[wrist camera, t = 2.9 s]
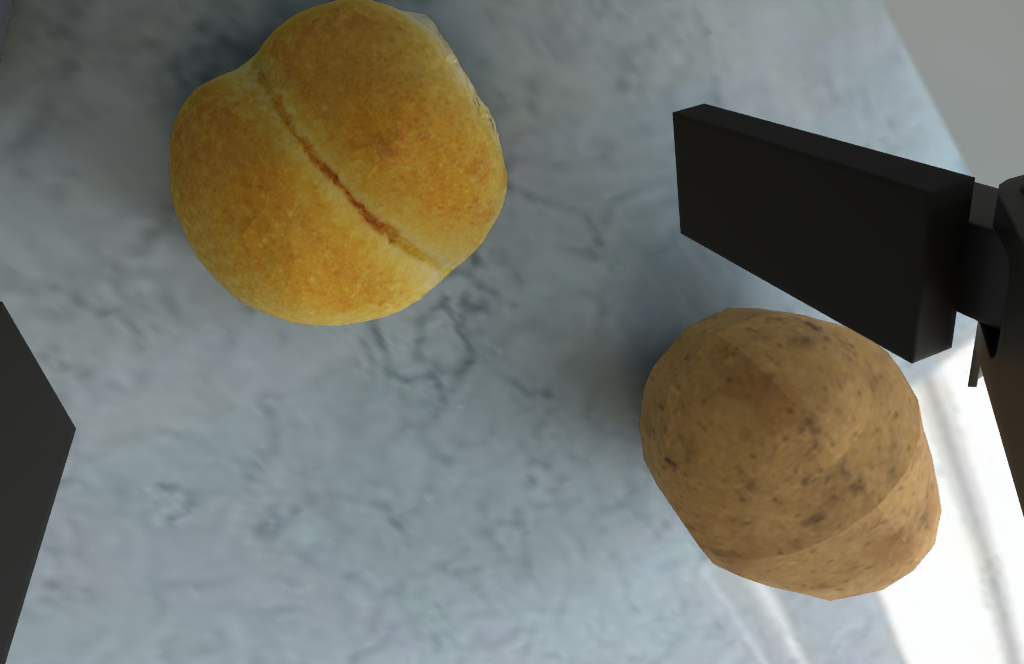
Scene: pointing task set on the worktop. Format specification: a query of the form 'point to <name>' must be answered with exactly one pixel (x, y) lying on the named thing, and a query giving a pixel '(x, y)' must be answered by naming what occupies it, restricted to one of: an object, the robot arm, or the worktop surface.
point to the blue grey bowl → (4, 20)
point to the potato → (792, 452)
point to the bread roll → (338, 166)
